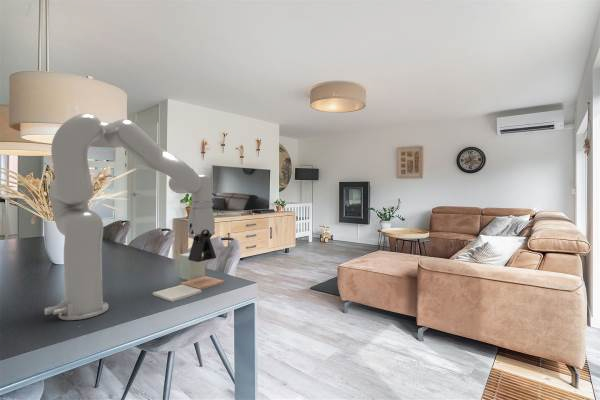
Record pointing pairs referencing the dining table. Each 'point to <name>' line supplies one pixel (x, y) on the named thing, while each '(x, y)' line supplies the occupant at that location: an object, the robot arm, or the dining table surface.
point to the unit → (190, 267)
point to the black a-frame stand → (198, 249)
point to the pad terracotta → (202, 282)
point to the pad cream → (177, 292)
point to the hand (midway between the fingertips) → (202, 251)
